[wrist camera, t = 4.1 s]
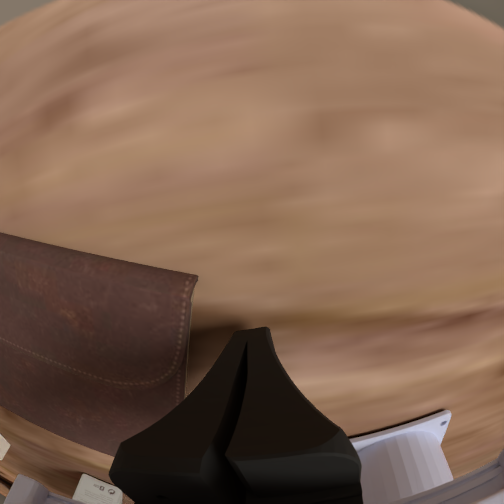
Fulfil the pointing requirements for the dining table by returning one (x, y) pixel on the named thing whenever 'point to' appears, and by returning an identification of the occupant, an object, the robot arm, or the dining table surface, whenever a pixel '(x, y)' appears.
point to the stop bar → (3, 446)
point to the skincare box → (96, 491)
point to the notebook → (91, 341)
